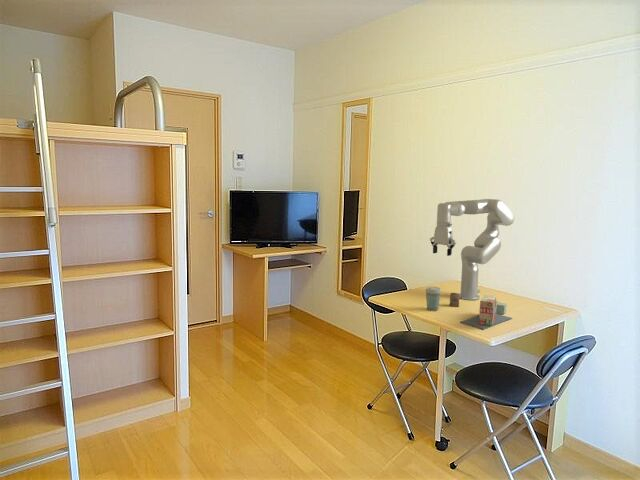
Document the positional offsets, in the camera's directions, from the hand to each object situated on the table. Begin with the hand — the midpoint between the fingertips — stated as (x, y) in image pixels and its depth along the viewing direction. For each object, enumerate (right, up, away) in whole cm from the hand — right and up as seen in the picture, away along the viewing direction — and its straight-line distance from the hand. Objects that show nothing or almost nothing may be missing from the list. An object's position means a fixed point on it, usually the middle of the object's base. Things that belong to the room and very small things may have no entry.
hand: (442, 254), depth 261 cm
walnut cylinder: (+6, -29, -4) cm, 30 cm away
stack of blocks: (+16, -33, -29) cm, 46 cm away
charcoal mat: (+15, -33, -30) cm, 47 cm away
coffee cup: (-8, -30, -11) cm, 33 cm away
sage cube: (+28, -31, -16) cm, 44 cm away
